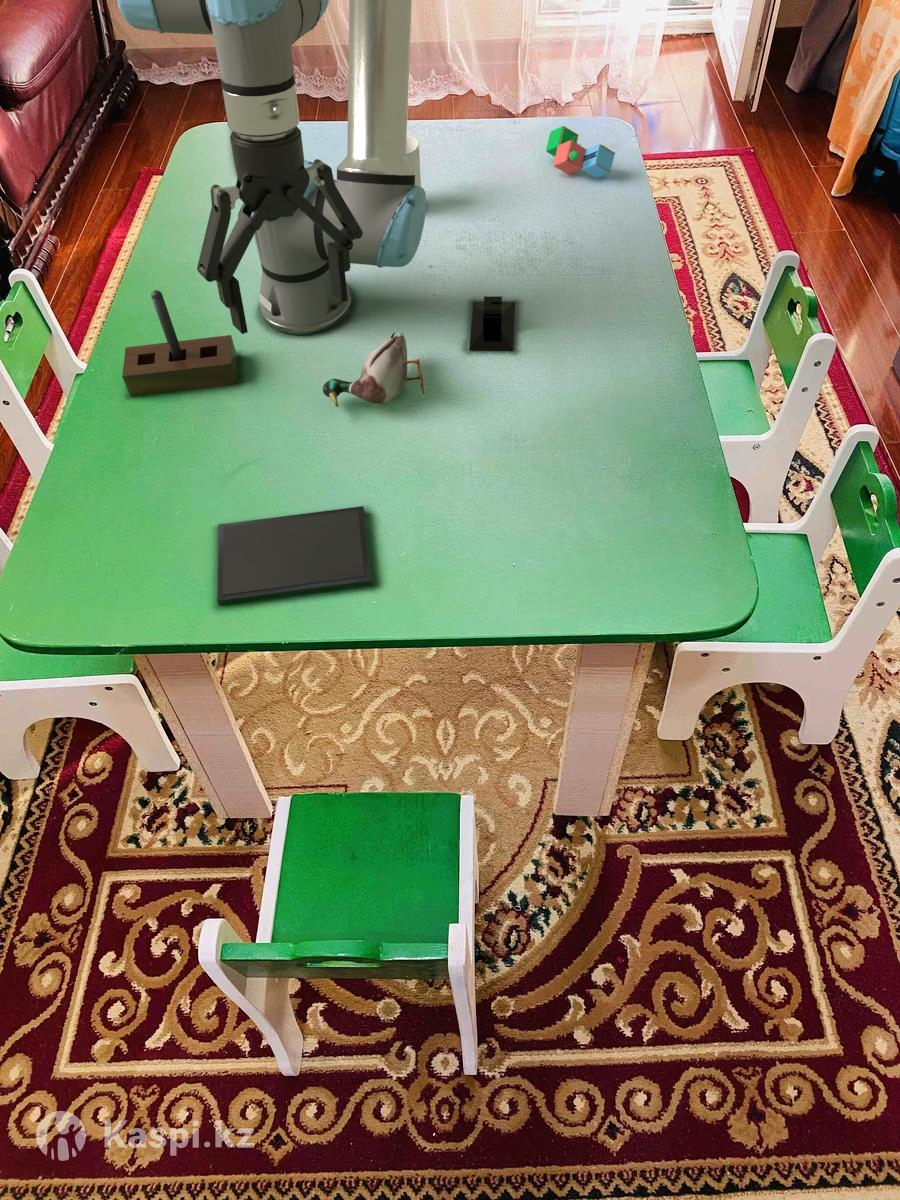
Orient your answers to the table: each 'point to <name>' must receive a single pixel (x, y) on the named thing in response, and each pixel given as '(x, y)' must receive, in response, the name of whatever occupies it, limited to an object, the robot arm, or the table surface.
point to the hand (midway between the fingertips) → (291, 312)
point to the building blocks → (578, 154)
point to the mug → (413, 157)
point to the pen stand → (180, 366)
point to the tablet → (292, 555)
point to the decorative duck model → (378, 374)
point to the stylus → (167, 325)
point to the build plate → (492, 325)
